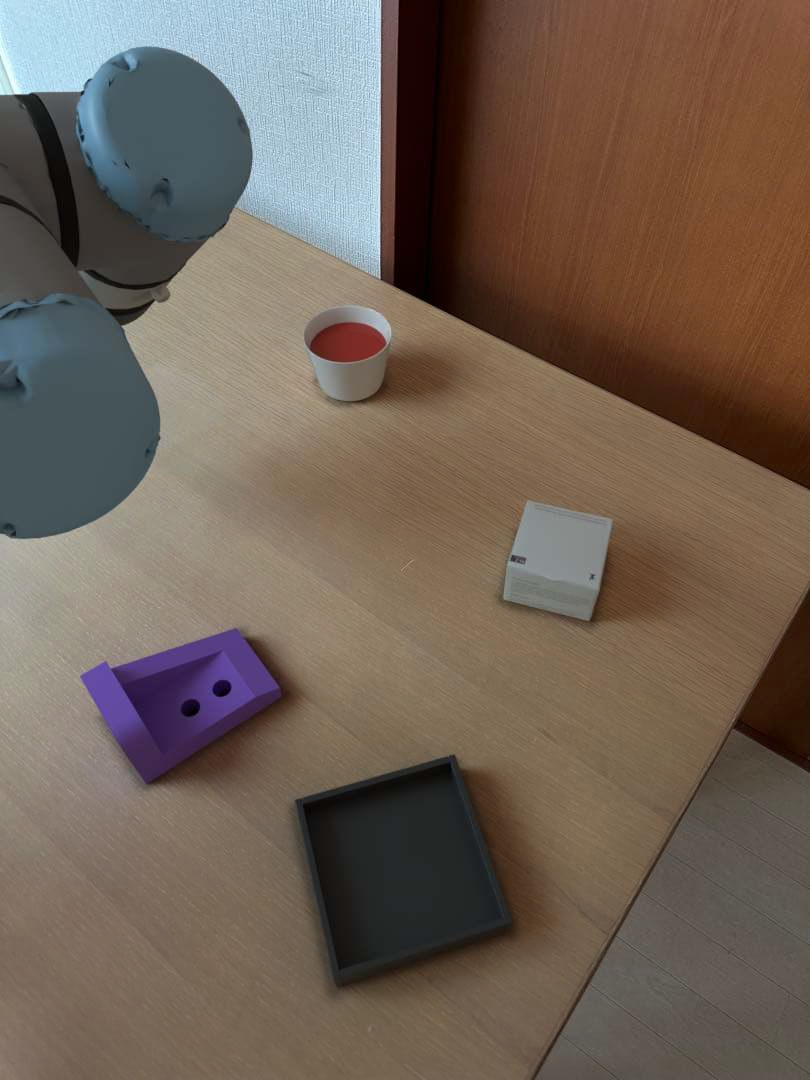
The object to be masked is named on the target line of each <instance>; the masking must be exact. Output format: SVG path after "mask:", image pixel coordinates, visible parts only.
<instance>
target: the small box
mask: <svg viewBox="0 0 810 1080" xmlns="http://www.w3.org/2000/svg"><path fill="white" fill-rule="evenodd" d="M613 522H614V519H613V518H609V517H604V516H602V515H601V516H600V515H597V514H592V513H588V512H583V511H578V510H573V509H569V508H564V507H561V506H560V507H559V506H555V505H550V504H546V503H543V502H539V501H538V502H537V501H533V500H531V499H528V500H526V503H525V507H524V510H523V512H522V516H521V519H520V522H519V525H518V528H517V531H516V535H515V538H514V541H513V544H512V548H511V550H510V554H509V558H508V561H507V565H506V572H505V581H504V589H503V600H504V601H507V602H511V603H515V604H520V605H524V606H527V607H531V608H534V609H538V610H542V611H547V612H551V613H555V614H559V615H563V616H566V617H570V618H575V619H578V620H582V621H586V622H590V621H591V618H592V616H593V614H594V613H593V612H594V609H595V606H596V602H597V600H598V597H599V594H600V591H601V586H602V581H603V575H604V570H605V565H606V559H607V555H608V549H609V545H610V540H611V535H612V534H611V533H612V528H613Z"/></svg>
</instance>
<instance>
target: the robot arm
mask: <svg viewBox="0 0 810 1080" xmlns="http://www.w3.org/2000/svg"><path fill="white" fill-rule="evenodd" d="M82 87H83V88H82V89H83V90H82V91H31V92H29V93H18V94H17V93H14V94H13V93H12V94H0V535H5V536H6V537H8V538H9V539H13V540H14V539H18V540H31V539H33V540H34V539H42V538H49V537H54V536H58V535H62V534H66V533H70V532H73V531H75V530H76V529H79V528H82V527H84V526H86V525H88V524H91V523H94V522H95V521H97V520H99V519H100V518H103V517H104V516H105V515H107V514H109V513H110V512H112V510H114V509H116V508H117V507H118V506H119V505H120V504H121V503H123V502H124V501H125V500H126V499H127V498H128V497H129V496H130V495H131V494H132V493H133V492H134V491H135V490H136V489H137V488H138V487H139V485H140V483H142V481H143V480H144V478H145V476H146V475H147V473H148V471H149V470H150V468H151V466H152V463H153V461H154V458H155V457H156V453H157V448H158V446H159V442H160V440H161V439H162V437H161V435H160V432H161V414H160V409H159V401H158V399H157V397H156V394H155V391H154V389H153V387H152V384H151V383H150V381H149V380H148V377H147V376H146V374H145V371H144V370H143V368H142V366H141V364H140V362H139V361H138V358H137V356H136V354H135V353H134V351H133V350H132V347H131V344H130V342H129V341H128V339H127V336H126V331H125V329H124V327H123V326H127V325H129V324H131V323H133V322H135V321H136V320H138V319H139V318H141V317H142V316H143V315H144V314H145V313H146V312H147V311H148V310H149V309H150V308H151V306H152V305H153V304H154V303H155V302H157V303H159V304H161V303H165V302H166V301H168V300H169V299H170V297H171V291H170V290H169V289H168V287H167V286H168V285H169V284H170V283H171V281H172V280H173V279H174V278H175V277H176V276H177V275H178V274H179V272H181V271H182V269H183V268H184V267H185V266H186V265H187V263H188V261H189V260H190V259H191V258H193V256H194V255H195V254H196V253H197V252H198V251H199V250H200V249H201V248H202V247H203V246H204V245H205V243H207V241H208V240H210V238H214V237H215V235H217V233H219V232H220V231H222V230H223V229H224V228H225V226H226V225H227V224H228V221H229V220H230V218H231V217H230V215H231V214H232V213H233V210H234V209H235V207H236V206H237V204H238V202H239V200H240V199H241V197H242V195H243V194H244V192H245V190H246V189H247V186H248V183H249V181H250V177H251V173H252V169H253V160H254V159H253V158H254V157H253V156H254V155H253V152H254V151H253V142H252V138H251V130H250V127H249V125H248V123H247V119H246V117H245V114H244V112H243V111H242V109H241V107H240V105H239V102H238V101H237V99H236V98H235V97H234V95H233V94H232V92H231V91H230V90H229V88H228V87H227V86H226V85H225V83H223V81H221V79H220V78H219V77H218V76H217V75H216V74H215V73H213V72H212V71H211V70H210V69H209V68H207V67H206V66H205V65H203V64H202V63H200V62H199V61H197V60H195V59H193V58H192V57H190V56H188V55H186V54H183V53H181V52H179V51H176V50H173V49H169V48H165V47H159V46H151V45H150V46H148V45H147V46H136V47H130V48H128V49H127V50H124V51H121V52H119V53H117V54H115V55H113V56H112V57H110V58H109V59H108V60H107V61H105V62H104V63H102V64H101V65H100V66H99V68H98V69H97V71H96V72H95V73H94V74H93V76H92V78H91V77H90V78H88V79H87V80H86V81H85V83H84V84H83V85H82Z"/></svg>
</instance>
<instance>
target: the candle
mask: <svg viewBox="0 0 810 1080" xmlns="http://www.w3.org/2000/svg"><path fill="white" fill-rule="evenodd" d="M390 324H391V323H390V322H389V320H388V319H387V318H386V317H385V316H384V315H383V314H381V313H380V312H378V311H376V310H374V309H372V308H369V307H367V306H366V307H365V306H360V305H353V304H352V305H351V304H350V305H349V304H347V305H338V306H334V307H329V308H327V309H325V310H322V311H320V312H318V313H316V314H315V315H313V316H312V317H311V318H310V319H309V320H308V321H307V323H306V324H305V326H304V328H303V331H302V342H303V345H304V348H305V351H306V353H307V355H308V359H309V361H310V365H311V367H312V369H313V373H314V375H315V377H316V380H317V382H318V383H317V384H318V385H319V387H320V389H321V390H322V391H323V392H324V393H325V395H327V396H328V397H330V398H332V399H334V400H337V401H341V402H342V401H343V402H357V401H362V400H365V399H367V398H369V397H371V396H373V395H374V394H376V393H377V392H378V391H379V389H380V388H381V386H382V384H383V382H384V378H385V373H386V368H387V362H388V357H389V352H390V346H391V342H392V334H393V332H392V326H391V325H390Z"/></svg>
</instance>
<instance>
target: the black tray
mask: <svg viewBox="0 0 810 1080" xmlns="http://www.w3.org/2000/svg"><path fill="white" fill-rule="evenodd" d="M467 788H468V787H467V786H466V782H465V780H464V777H463V774H462V771H461V768H460V765H459V762H458V759H457V757H456V754H451V755H447V756H444V757H440V758H436V759H433V760H431V761H427V762H423V763H419V764H415V765H412V766H408V767H405V768H402V769H397V770H395V771H391V772H388V773H383V774H381V775H377V776H374V777H370V778H366V779H363V780H360V781H359V780H358V781H356V782H352V783H349V784H346V785H342V786H338V787H335V788H331V789H327V790H325V791H321V792H317V793H313V794H311V795H307V796H303V797H300V798H297V799H294V803H295V808H296V813H297V818H298V823H299V827H300V832H301V836H302V841H303V845H304V846H303V847H304V851H305V856H306V860H307V864H308V869H309V873H310V874H309V875H310V878H311V883H312V888H313V893H314V897H315V902H316V906H317V911H318V916H319V920H320V924H321V928H322V934H323V938H324V942H325V948H326V953H327V957H328V961H329V967H330V971H331V976H332V980H333V982H334V985H335V987H336V988H340V987H342V986H346V985H348V984H352V983H355V982H358V981H361V980H364V979H367V978H370V977H374V976H376V975H380V974H382V973H386V972H389V971H392V970H395V969H398V968H401V967H403V966H404V967H405V966H407V965H410V964H413V963H416V962H420V961H422V960H426V959H429V958H432V957H435V956H438V955H441V954H444V953H447V952H450V951H454V950H456V949H458V948H459V949H460V948H462V947H465V946H468V945H472V944H474V943H478V942H480V941H485V940H487V939H490V938H493V937H496V936H499V935H502V934H505V933H509V932H510V930H511V928H512V925H513V919H512V916H511V913H510V910H509V908H508V905H507V901H506V899H505V896H504V894H503V889H502V887H501V885H500V881H499V879H498V876H497V873H496V870H495V867H494V864H493V861H492V858H491V855H490V852H489V850H488V847H487V844H486V841H485V838H484V834H483V832H482V829H481V826H480V824H479V821H478V817H477V815H476V812H475V809H474V807H473V803H472V801H471V798H470V797H471V796H470V794H469V791H468V789H467Z"/></svg>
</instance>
